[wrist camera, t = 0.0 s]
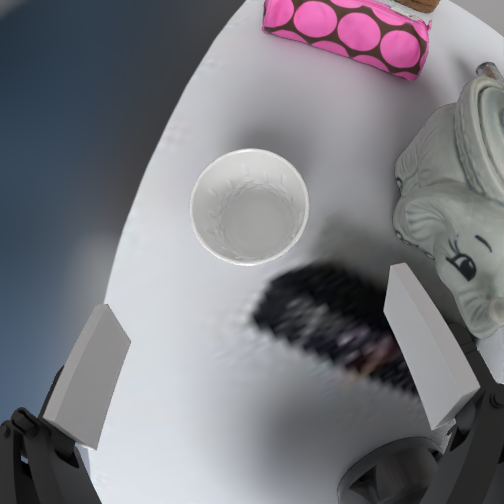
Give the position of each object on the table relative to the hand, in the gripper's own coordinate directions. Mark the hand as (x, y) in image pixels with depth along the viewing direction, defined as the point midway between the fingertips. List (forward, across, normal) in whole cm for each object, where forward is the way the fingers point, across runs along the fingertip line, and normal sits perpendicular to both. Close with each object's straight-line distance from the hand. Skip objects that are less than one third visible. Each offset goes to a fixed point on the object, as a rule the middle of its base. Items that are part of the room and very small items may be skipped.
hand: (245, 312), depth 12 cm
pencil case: (+30, -15, -15) cm, 37 cm away
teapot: (+15, -18, +6) cm, 24 cm away
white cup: (+16, 0, +4) cm, 17 cm away
